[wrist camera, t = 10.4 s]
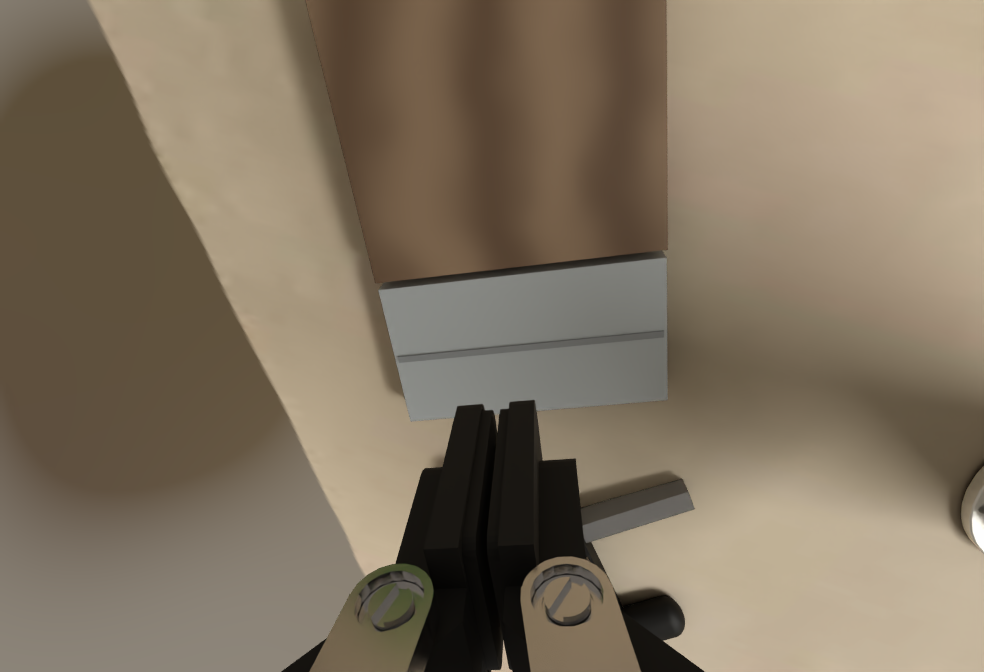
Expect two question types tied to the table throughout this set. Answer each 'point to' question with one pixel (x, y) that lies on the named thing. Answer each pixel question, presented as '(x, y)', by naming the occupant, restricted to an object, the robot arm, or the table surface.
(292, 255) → the table surface
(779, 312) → the table surface
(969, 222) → the table surface
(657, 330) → the laid boards
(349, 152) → the plank
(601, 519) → the door handle
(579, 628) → the robot arm
